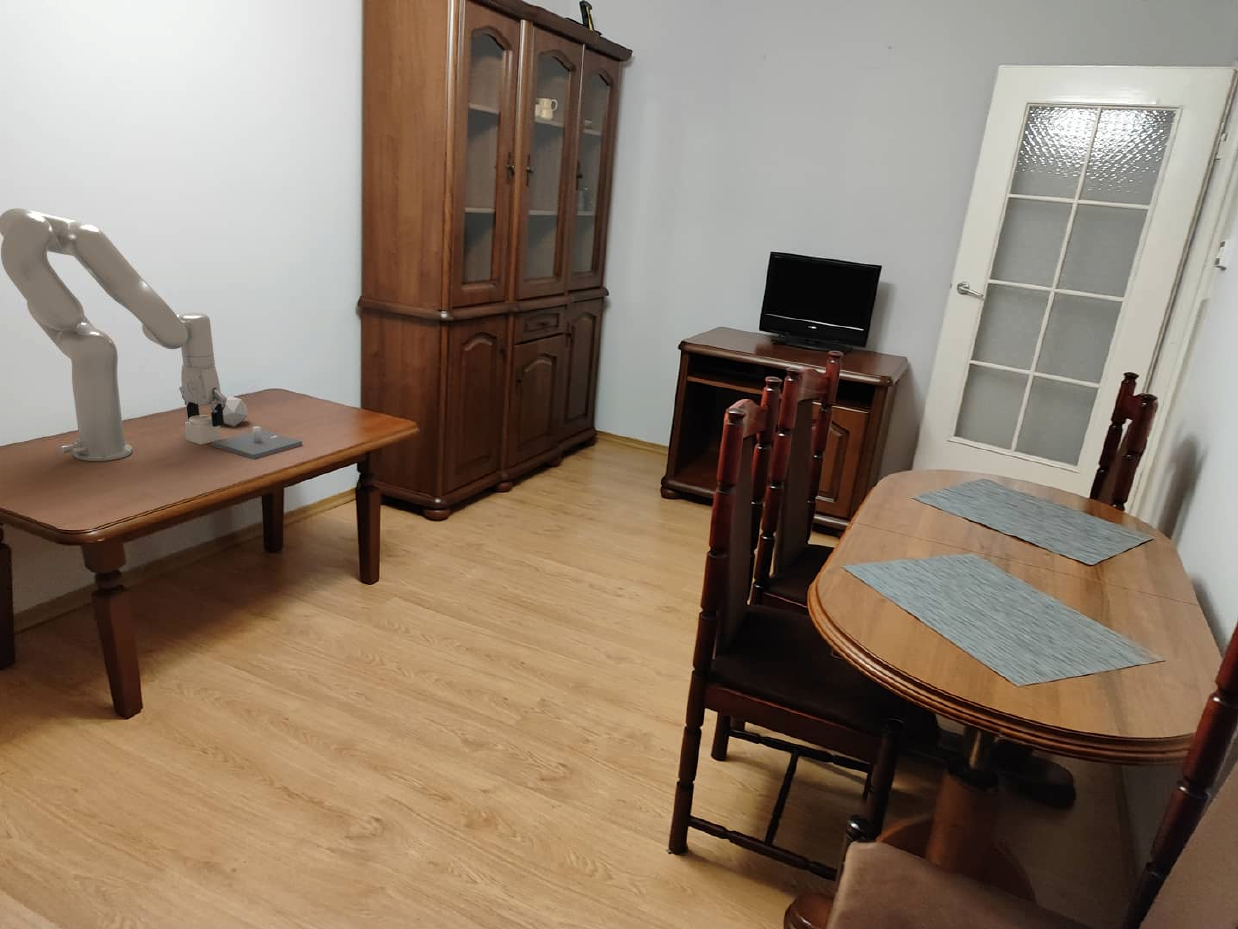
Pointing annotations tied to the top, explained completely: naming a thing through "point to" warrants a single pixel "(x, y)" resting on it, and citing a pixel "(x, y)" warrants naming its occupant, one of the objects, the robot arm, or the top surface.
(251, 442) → the grey square peg base
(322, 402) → the top surface
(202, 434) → the white stepped block
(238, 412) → the die
